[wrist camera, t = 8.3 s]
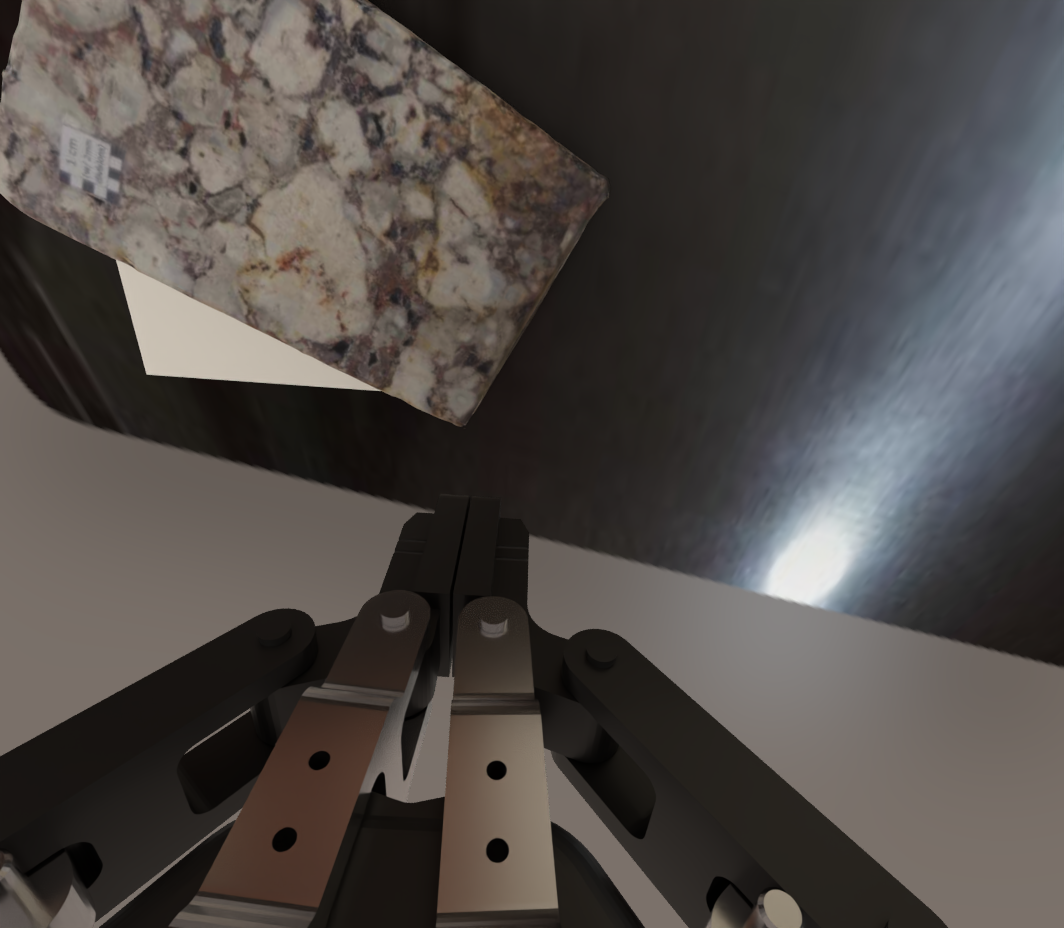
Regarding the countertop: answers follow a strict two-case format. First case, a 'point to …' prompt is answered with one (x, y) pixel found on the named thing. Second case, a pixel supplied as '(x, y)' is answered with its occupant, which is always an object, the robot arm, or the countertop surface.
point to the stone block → (298, 178)
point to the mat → (214, 341)
